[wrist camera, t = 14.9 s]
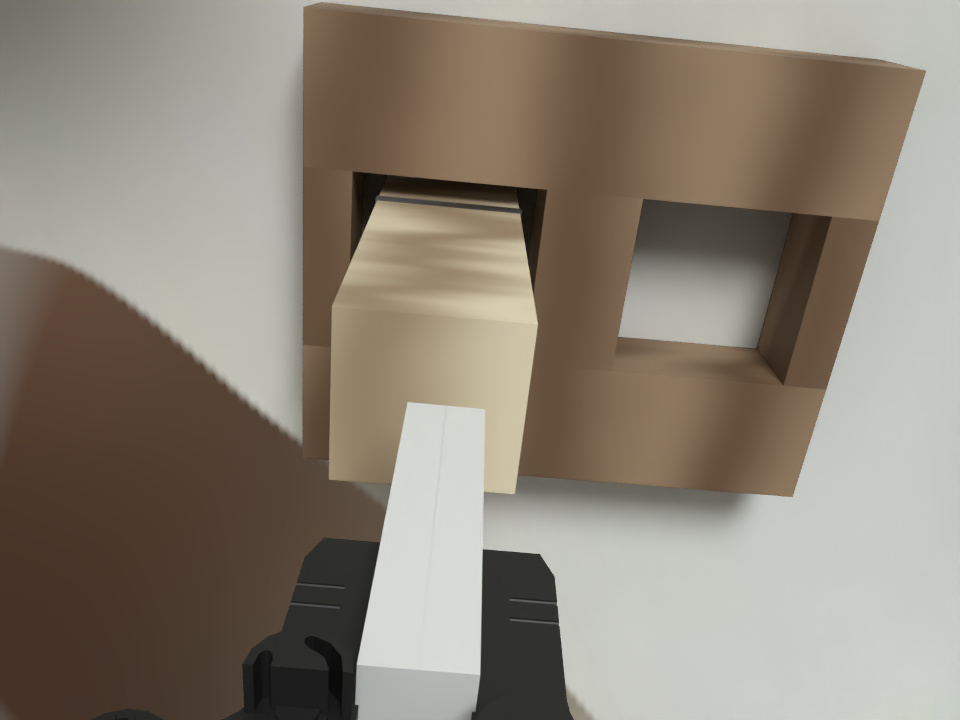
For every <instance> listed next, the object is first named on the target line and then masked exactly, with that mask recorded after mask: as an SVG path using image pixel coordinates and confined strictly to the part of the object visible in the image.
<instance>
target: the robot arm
mask: <svg viewBox="0 0 960 720" xmlns="http://www.w3.org/2000/svg"><path fill="white" fill-rule="evenodd" d="M484 444H485V409H478V408H467V407H456V406H445V405H434V404H423V403H412V402H408V403H407V408H406V413H405V418H404V423H403V429H402V434H401V439H400V444H399V449H398V454H397V459H396V465H395V470H394V475H393V480H392V485H391V490H390V496H389V501H388V506H387V511H386V516H385V521H384V527H383V532H382V538H381V542H380V543H379V542H366V541H355V540H344V539H332V538H324V539H323V540H322V541H321V542H320V543H319V544H318V545H317V546H316V547H315V548H314V549H313V550H312V551H311V552H310V553H309V554H308V555H307V556H306V557H305V559H304V562H303V565H302V569H301V571H300V574H299V578H298V581H297V586H296V587H295V590H294V593H293V597H292V600H291V606H289V609H288V612H287V616H286V619H285V622H284V625H283V629H282V631H281V632H279V633H276V634H273V635H270V636H268V637H267V638H265V639H264V640H263V641H262V642H260V643H259V644H257V645H256V646H255V647H253V648H252V649H251V651H250V653H249V654H248V656H247V657H246V659H245V661H244V662H243V688H244V708H242V709H241V710H240V711H238V712H236V713H234V714H232V715H230V716H229V717H227V718H225V719H222V720H574V719H573V717H572V715H571V714H570V711H569V707H568V703H567V699H566V688H565V678H564V668H563V658H562V648H561V638H560V628H559V617H558V607H557V597H556V587H555V577H554V575H553V574H552V572H551V571H550V569H549V568H548V566H547V565H546V563H545V561H544V560H543V558H542V557H541V555H540V554H531V553H520V552H508V551H496V550H485V549H483V499H484ZM92 720H163V719H162V718H160V717H158V716H156V715H154V714H152V713H151V712H149V711H142V710H133V709H124V710H120V711H114V712H109V713H104V714H102V715H100V716H98V717H96V718H94V719H92Z"/></svg>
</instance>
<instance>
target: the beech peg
mask: <svg viewBox="0 0 960 720" xmlns="http://www.w3.org/2000/svg"><path fill="white" fill-rule="evenodd" d="M521 215H522V210H521V209H519V204H518V198H517V192H516V187H513V186H502V185H491V184H481V183H470V182H460V181H449V180H438V179H428V178H417V177H407V176H396V175H388V176H387V178H386V181H385V183H384V185H383V188H382V190H381V192H380V195H379V196H378V195H377V196H376V199H375V207H374V209H373V211H372V214H371V216H370V218H369V221H368V223H367V225H366V228H365V230H364V232H363V235H362V237H361V239H360V242H359V244H358V246H357V249H356V251H355V253H354V256H353V258H352V260H351V263H350V265H349V268H348V270H347V272H346V275H345V277H344V279H343V282H342V284H341V286H340V289H339V291H338V293H337V296H336V298H335V300H334V303H333V305H332V328H331V383H330V438H329V480H341V481H354V482H366V483H379V484H392V480H393V475H394V470H395V465H396V459H397V454H398V449H399V444H400V439H401V434H402V429H403V423H404V418H405V413H406V408H407V403H408V402H412V403H423V404H434V405H445V406H456V407H467V408H478V409H485V444H484V492H494V493H507V494H515V489H516V482H517V475H518V467H519V460H520V453H521V445H522V438H523V431H524V423H525V416H526V409H527V401H528V394H529V387H530V380H531V372H532V365H533V358H534V350H535V343H536V336H537V328H538V321H537V315H536V309H535V303H534V297H533V290H532V284H531V278H530V272H529V266H528V260H527V253H526V247H525V241H524V235H523V229H522V223H521Z"/></svg>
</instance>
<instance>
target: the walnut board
mask: <svg viewBox="0 0 960 720" xmlns="http://www.w3.org/2000/svg"><path fill="white" fill-rule="evenodd" d="M925 72H926V71H925V70H920V69H916V68H912V67H908V66H904V65H900V64H896V63H891V62H887V61H883V60H877V59H867V58H858V57H848V56H838V55H828V54H819V53H809V52H799V51H790V50H780V49H770V48H760V47H751V46H741V45H731V44H721V43H712V42H702V41H692V40H683V39H673V38H663V37H653V36H644V35H634V34H624V33H615V32H605V31H595V30H585V29H576V28H566V27H556V26H546V25H537V24H527V23H517V22H508V21H498V20H488V19H478V18H469V17H459V16H449V15H440V14H430V13H420V12H410V11H401V10H391V9H381V8H371V7H362V6H352V5H342V4H333V3H323V2H321V3H317V4H314V5H310V6H306V7H304V39H303V458H310V459H321V460H329V438H330V383H331V328H332V305H333V303H334V300H335V298H336V296H337V293H338V291H339V289H340V286H341V284H342V282H343V279H344V277H345V275H346V272H347V270H348V268H349V265H350V263H351V260H352V258H353V256H354V253H355V251H356V249H357V246H358V244H359V242H360V239H361V237H362V216H363V187H364V173H375V174H385V175H396V176H407V177H417V178H428V179H438V180H449V181H460V182H470V183H481V184H491V185H502V186H513V187H523V188H534V189H538V193H537V201H536V209H535V217H534V225H533V233H532V240H531V248H530V256H529V264H528V266H529V272H530V278H531V284H532V290H533V297H534V303H535V309H536V315H537V321H538V328H537V336H536V343H535V350H534V358H533V365H532V372H531V380H530V387H529V394H528V401H527V409H526V416H525V423H524V431H523V438H522V445H521V453H520V460H519V467H518V475H523V476H536V477H548V478H561V479H574V480H586V481H599V482H611V483H624V484H637V485H649V486H662V487H675V488H687V489H700V490H712V491H725V492H738V493H750V494H763V495H775V496H788V497H793V494H794V490H795V487H796V484H797V481H798V478H799V474H800V471H801V468H802V465H803V462H804V459H805V455H806V452H807V449H808V446H809V443H810V439H811V436H812V433H813V430H814V427H815V423H816V420H817V417H818V414H819V411H820V407H821V404H822V401H823V398H824V395H825V391H826V388H827V385H828V382H829V379H830V376H831V372H832V369H833V366H834V363H835V360H836V356H837V353H838V350H839V347H840V344H841V340H842V337H843V334H844V331H845V328H846V324H847V321H848V318H849V315H850V312H851V309H852V305H853V302H854V299H855V296H856V293H857V289H858V286H859V283H860V280H861V277H862V273H863V270H864V267H865V264H866V261H867V257H868V254H869V251H870V248H871V245H872V242H873V238H874V235H875V232H876V229H877V226H878V222H879V219H880V216H881V213H882V210H883V206H884V203H885V200H886V197H887V194H888V190H889V187H890V184H891V181H892V178H893V175H894V171H895V168H896V165H897V162H898V159H899V155H900V152H901V149H902V146H903V143H904V139H905V136H906V133H907V130H908V127H909V123H910V120H911V117H912V114H913V111H914V107H915V104H916V101H917V98H918V95H919V92H920V88H921V85H922V82H923V79H924V76H925ZM643 199H651V200H661V201H672V202H682V203H693V204H704V205H714V206H725V207H735V208H746V209H757V210H767V211H778V212H788V213H793V216H792V220H791V224H790V227H789V231H788V235H787V239H786V242H785V246H784V250H783V254H782V257H781V261H780V265H779V269H778V273H777V276H776V280H775V284H774V288H773V291H772V295H771V299H770V303H769V306H768V310H767V314H766V318H765V321H764V325H763V329H762V333H761V336H760V340H759V344H758V348H757V349H751V348H739V347H728V346H716V345H705V344H693V343H682V342H670V341H659V340H647V339H636V338H624V337H618V333H619V328H620V323H621V317H622V312H623V306H624V301H625V295H626V290H627V284H628V279H629V274H630V268H631V263H632V257H633V252H634V246H635V241H636V235H637V230H638V225H639V219H640V214H641V208H642V203H643Z"/></svg>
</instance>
